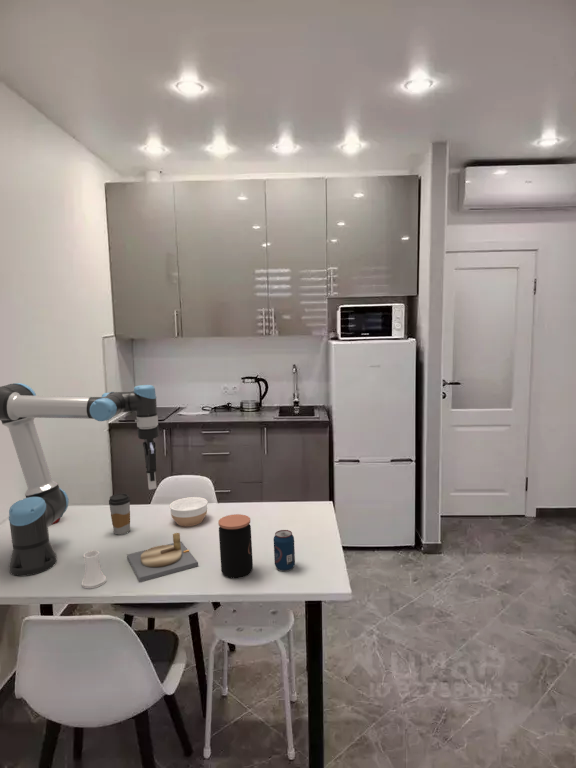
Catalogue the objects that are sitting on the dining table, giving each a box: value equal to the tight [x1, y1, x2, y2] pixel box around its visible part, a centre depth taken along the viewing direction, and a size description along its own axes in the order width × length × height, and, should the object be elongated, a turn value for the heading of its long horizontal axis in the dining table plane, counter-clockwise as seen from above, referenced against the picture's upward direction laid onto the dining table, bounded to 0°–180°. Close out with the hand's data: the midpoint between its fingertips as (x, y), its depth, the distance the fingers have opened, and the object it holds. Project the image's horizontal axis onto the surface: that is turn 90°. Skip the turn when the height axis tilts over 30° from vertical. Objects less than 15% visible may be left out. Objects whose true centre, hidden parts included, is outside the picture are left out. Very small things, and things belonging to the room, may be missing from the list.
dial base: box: [126, 540, 199, 583], centre depth 181 cm, size 20×20×2 cm
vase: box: [81, 550, 107, 589], centre depth 168 cm, size 8×8×10 cm
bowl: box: [169, 496, 209, 527], centre depth 217 cm, size 16×16×8 cm
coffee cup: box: [108, 493, 131, 535], centre depth 208 cm, size 8×8×15 cm
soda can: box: [273, 529, 296, 572], centre depth 173 cm, size 7×7×12 cm
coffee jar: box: [217, 513, 254, 580], centre depth 170 cm, size 11×11×18 cm
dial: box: [141, 532, 182, 567], centre depth 180 cm, size 14×14×7 cm
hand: (152, 488), depth 192 cm, fingers closed
